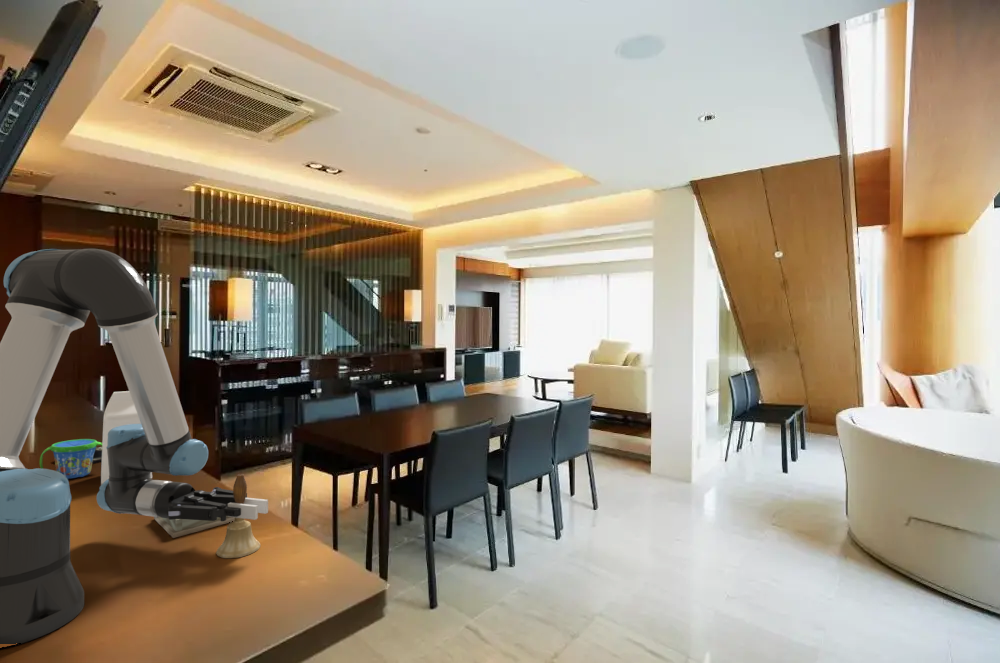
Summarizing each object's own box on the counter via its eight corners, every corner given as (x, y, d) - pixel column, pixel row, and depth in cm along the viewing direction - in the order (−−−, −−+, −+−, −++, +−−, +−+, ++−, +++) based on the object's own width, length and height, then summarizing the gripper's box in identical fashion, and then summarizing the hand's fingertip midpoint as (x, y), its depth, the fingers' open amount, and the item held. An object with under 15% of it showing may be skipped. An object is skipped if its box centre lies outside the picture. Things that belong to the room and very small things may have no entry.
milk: (101, 486, 143) (100, 395, 142) (100, 475, 151) (100, 390, 151) (152, 478, 150) (152, 392, 149) (149, 468, 159) (148, 387, 158)
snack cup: (109, 467, 160) (108, 436, 159) (105, 476, 151) (105, 443, 151) (43, 475, 151) (43, 442, 151) (36, 485, 142) (35, 450, 142)
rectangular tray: (244, 518, 121) (244, 504, 121) (173, 538, 110) (173, 522, 110) (221, 502, 131) (221, 489, 131) (154, 519, 120) (154, 504, 120)
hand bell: (253, 537, 111) (253, 466, 111) (266, 550, 105) (266, 475, 105) (211, 548, 106) (211, 474, 105) (222, 563, 100) (222, 484, 99)
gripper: (196, 503, 117) (285, 513, 112) (134, 531, 101) (234, 543, 97) (196, 471, 117) (285, 480, 112) (134, 494, 101) (234, 505, 96)
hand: (261, 509), depth 104 cm, fingers open, 3 cm apart
